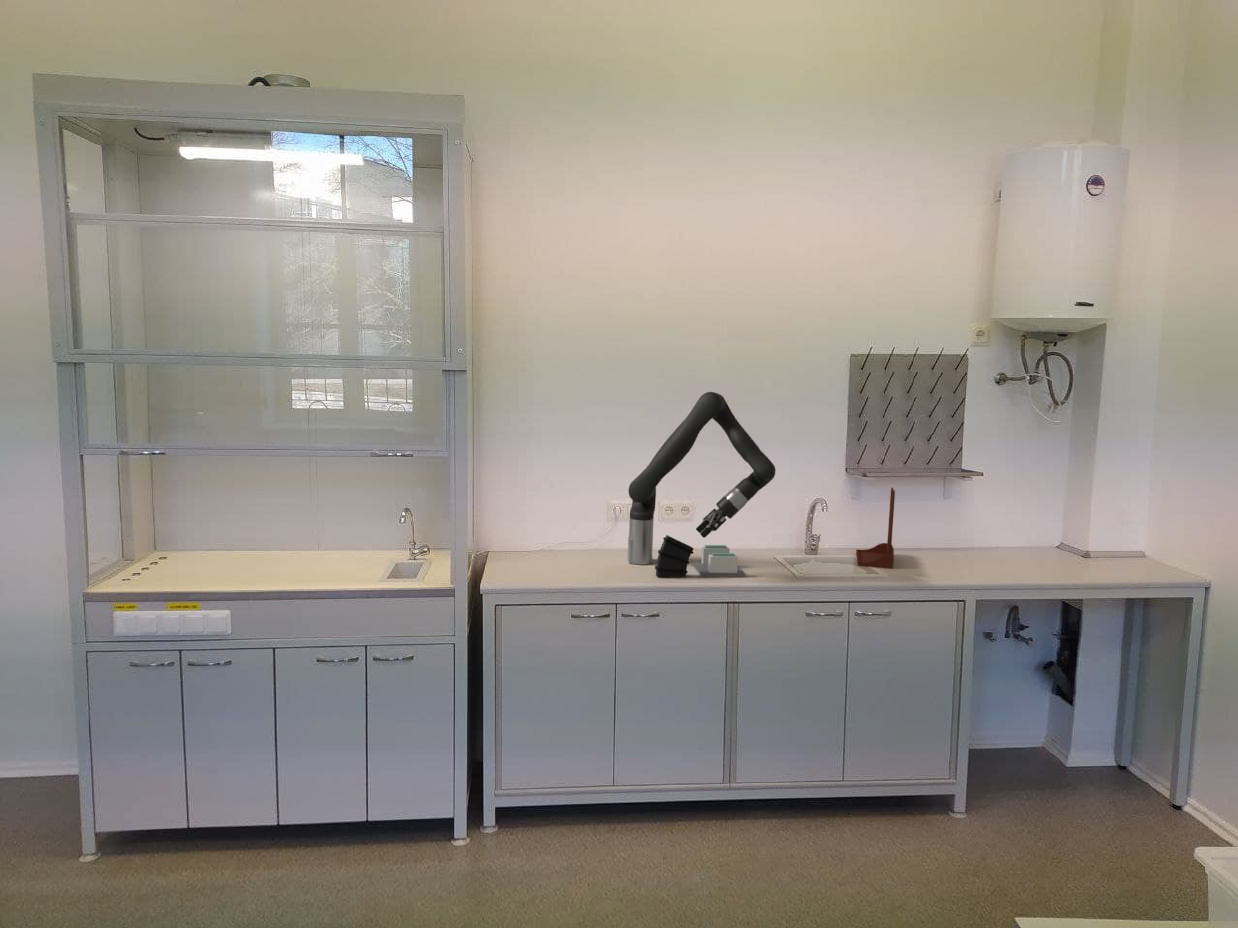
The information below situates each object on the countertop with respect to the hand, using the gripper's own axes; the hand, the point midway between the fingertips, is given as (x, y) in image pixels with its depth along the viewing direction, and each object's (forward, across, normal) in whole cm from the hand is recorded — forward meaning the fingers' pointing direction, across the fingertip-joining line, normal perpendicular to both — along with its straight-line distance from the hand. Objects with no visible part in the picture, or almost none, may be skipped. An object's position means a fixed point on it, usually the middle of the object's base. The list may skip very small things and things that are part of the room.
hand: (699, 533), depth 278 cm
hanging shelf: (-43, -26, +66) cm, 83 cm away
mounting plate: (+5, -7, +18) cm, 20 cm away
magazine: (+18, 0, +5) cm, 18 cm away
